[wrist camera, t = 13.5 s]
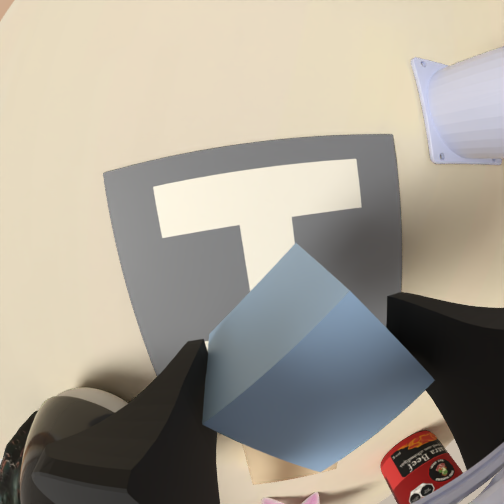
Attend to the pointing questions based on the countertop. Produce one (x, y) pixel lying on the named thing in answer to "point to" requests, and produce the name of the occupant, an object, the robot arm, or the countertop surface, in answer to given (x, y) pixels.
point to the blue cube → (306, 368)
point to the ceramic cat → (13, 464)
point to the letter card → (252, 227)
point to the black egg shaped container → (62, 429)
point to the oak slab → (274, 467)
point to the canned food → (418, 467)
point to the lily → (312, 500)
